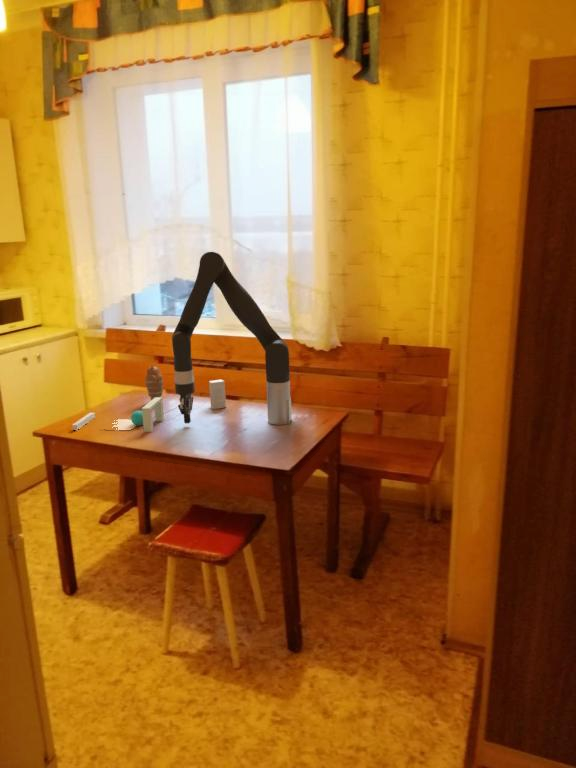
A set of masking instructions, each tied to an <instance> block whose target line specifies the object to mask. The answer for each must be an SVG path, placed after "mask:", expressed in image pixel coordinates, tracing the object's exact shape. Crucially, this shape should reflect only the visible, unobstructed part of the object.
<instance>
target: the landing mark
mask: <svg viewBox="0 0 576 768" xmlns="http://www.w3.org/2000/svg"><path fill="white" fill-rule="evenodd" d="M114 421H115V420H114ZM116 421H118V422H116V423H115V422H114V423H112V424H117V423H118V424H117V425H114V426H113V427H118V430H117V428H116V430H115V431H119V430H131V429H132V430H133V429H134V428H136V427H137V425H135V424H133V423H132V421H131V419H127V418H125V419H123V418H121V419H119V418H118V420H116ZM113 427H112V428H113ZM132 430H131V431H132Z"/></svg>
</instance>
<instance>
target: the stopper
mask: <svg viewBox="0 0 576 768" xmlns="http://www.w3.org/2000/svg"><path fill="white" fill-rule="evenodd" d="M93 418H95V419H96V413H95V412H89V413H87V414H86V415H85V416H83V417H81V418H80V419H78V420H77V421H76V422H74V423H73V424H71V426H72V431H73V430H78V429H80V428H81V427H82V426H83V425H85V424H86V423H88V422H89V421H90V420H92V419H93ZM92 421H93V420H92ZM89 423H90V422H89ZM89 423H88V424H89ZM85 426H86V425H85ZM82 428H83V427H82ZM82 428H81V429H82ZM81 429H80V430H81ZM78 431H79V430H78Z"/></svg>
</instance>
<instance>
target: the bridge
mask: <svg viewBox="0 0 576 768" xmlns="http://www.w3.org/2000/svg"><path fill="white" fill-rule="evenodd" d="M163 404H164V402H163V397H162V396H161V397H155V398H154V399H153V400H151V399H150V401H149V402H147V403H146V404H145V405H144V406H143V407H141V411H142V416H143V424H142V425H143V432H144V433H152V432H153V431H154V426H153V416H152V415H153V414H152V410H153V409H154V418H155V419H154V420H155V422H164V420H165V417H164V416H165V414H164V405H163Z"/></svg>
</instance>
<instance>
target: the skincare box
mask: <svg viewBox="0 0 576 768" xmlns="http://www.w3.org/2000/svg"><path fill="white" fill-rule="evenodd" d="M208 384H209V398H210V399H209V400H210V408H211V409H213V410H216V409H224V408H227V400H226V399H227V398H226V385H225V380H223V379H215V380H209V381H208Z"/></svg>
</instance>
